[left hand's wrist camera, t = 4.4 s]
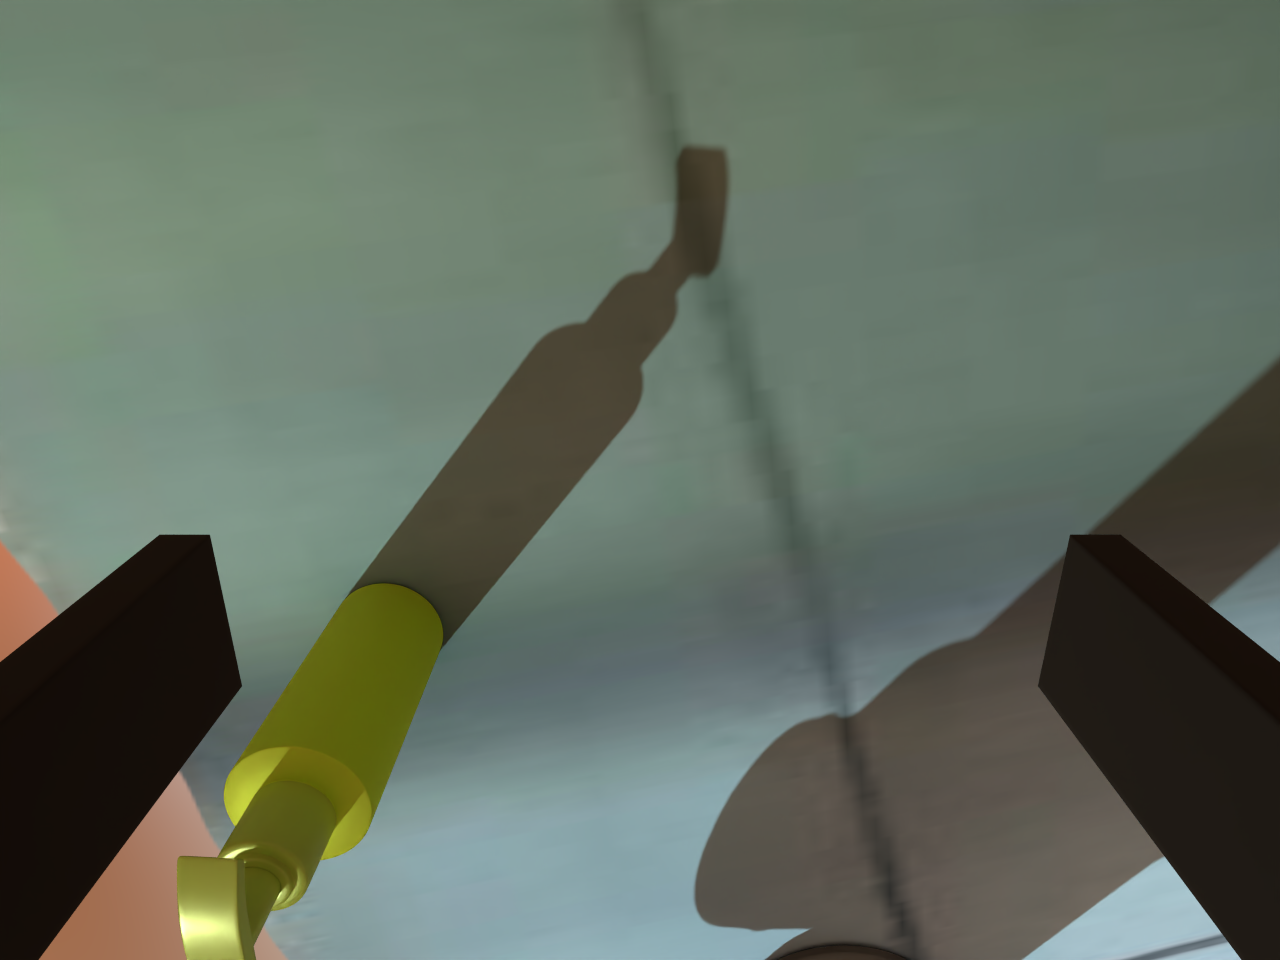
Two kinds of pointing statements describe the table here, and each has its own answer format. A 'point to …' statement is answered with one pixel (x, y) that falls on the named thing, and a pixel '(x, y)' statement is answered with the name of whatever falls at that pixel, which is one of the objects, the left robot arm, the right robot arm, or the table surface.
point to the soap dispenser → (312, 769)
